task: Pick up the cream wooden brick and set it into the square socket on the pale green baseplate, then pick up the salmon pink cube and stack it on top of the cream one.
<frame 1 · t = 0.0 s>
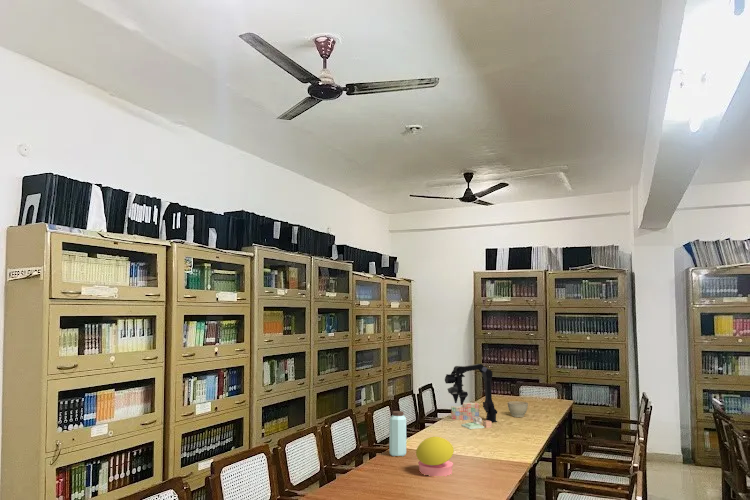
hand: (458, 404, 435), 15 cm above the table, tool pointing down, fingers open, 9 cm apart
water bottle: (397, 455, 341), on the table
yellow egg on stand: (435, 472, 305), on the table
stack of blocks: (465, 419, 453), on the table
baseplate: (472, 426, 423), on the table
salmon pink cube: (487, 427, 422), on the table
planter bowl: (517, 416, 465), on the table
cream brick: (477, 423, 435), on the table
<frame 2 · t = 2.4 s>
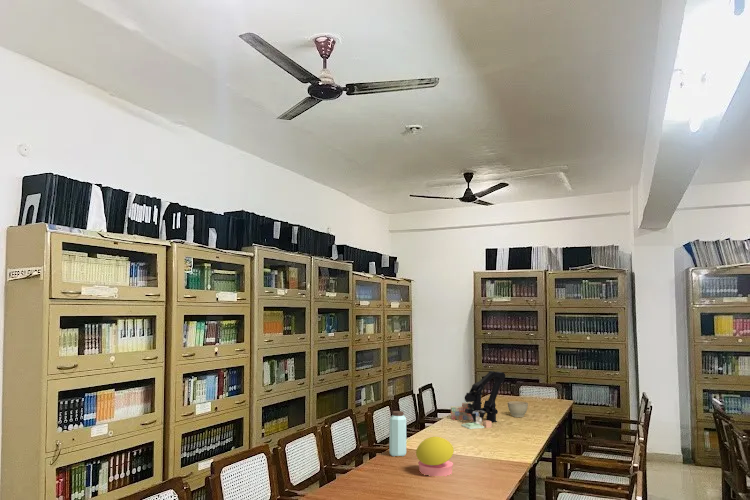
hand: (477, 422, 435), 1 cm above the table, tool pointing down, fingers closed on cream brick, 4 cm apart
cream brick: (477, 423, 435), on the table, touching gripper
when the fingers open (3 cm above the table, at t = 6.1 s): cream brick drops 1 cm, resting on baseplate.
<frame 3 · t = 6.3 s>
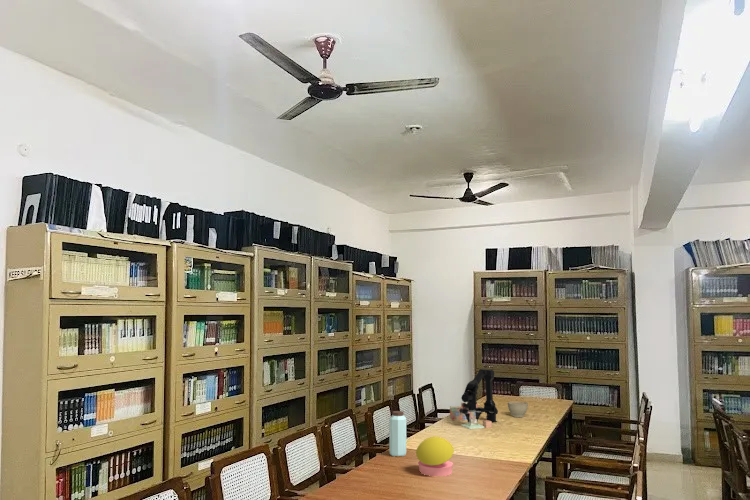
hand: (472, 422, 423), 3 cm above the table, tool pointing down, fingers open, 6 cm apart
cream brick: (472, 425, 423), point 1 cm above the table, touching baseplate
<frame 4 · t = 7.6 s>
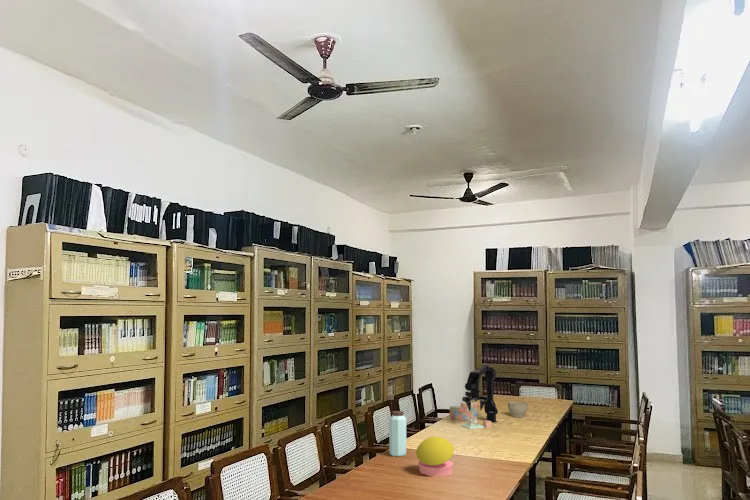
hand: (475, 410, 424), 12 cm above the table, tool pointing down, fingers open, 9 cm apart
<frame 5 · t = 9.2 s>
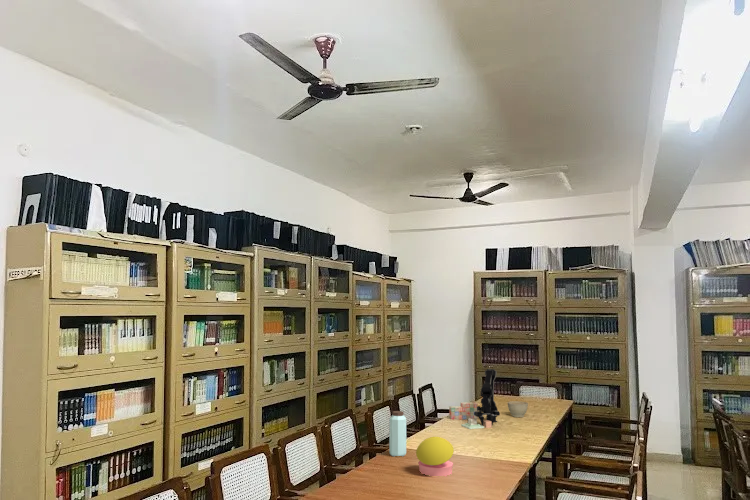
hand: (486, 425, 422), 1 cm above the table, tool pointing down, fingers open, 7 cm apart
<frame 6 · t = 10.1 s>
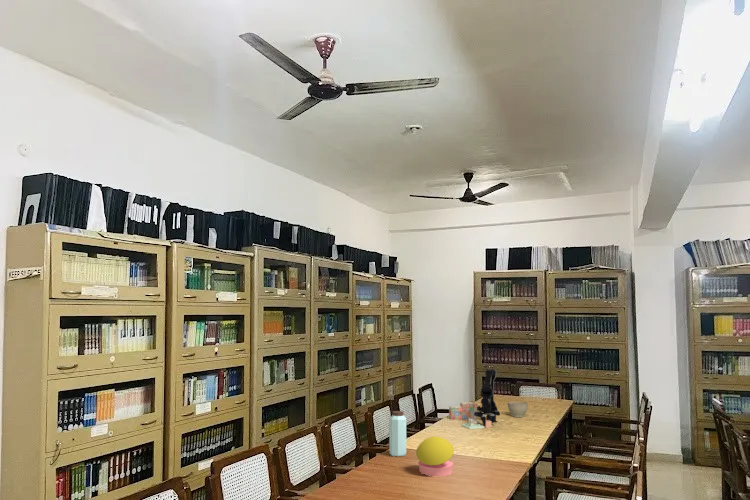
hand: (487, 425, 422), 1 cm above the table, tool pointing down, fingers closed on salmon pink cube, 4 cm apart
salmon pink cube: (487, 427, 422), on the table, touching gripper
when the fingers open (8 cm above the table, at t = 12.8 s): salmon pink cube drops 1 cm, resting on cream brick.
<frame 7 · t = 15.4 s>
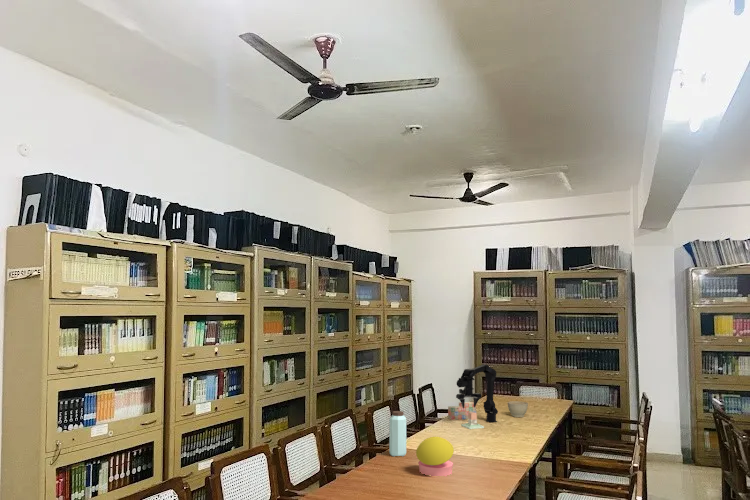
hand: (469, 407, 429), 13 cm above the table, tool pointing down, fingers open, 9 cm apart
salmon pink cube: (472, 419, 423), point 6 cm above the table, touching cream brick
cream brick: (472, 425, 423), point 1 cm above the table, touching baseplate, salmon pink cube
at the end: cream brick 0.1 cm off-centre on the baseplate, point 1.2 cm above the baseplate's base; salmon pink cube 0.1 cm off-centre on the cream brick, point 4.5 cm above the cream brick's base; the gripper is holding nothing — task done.
